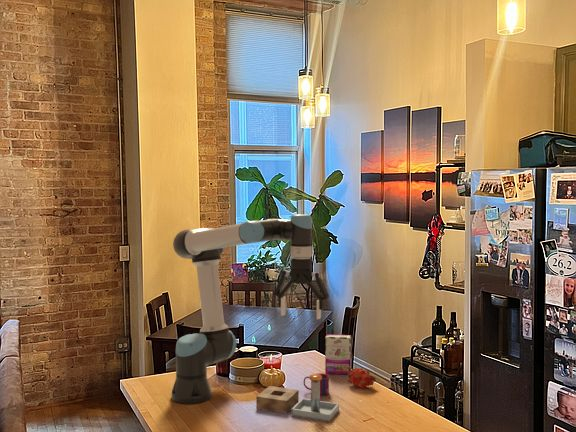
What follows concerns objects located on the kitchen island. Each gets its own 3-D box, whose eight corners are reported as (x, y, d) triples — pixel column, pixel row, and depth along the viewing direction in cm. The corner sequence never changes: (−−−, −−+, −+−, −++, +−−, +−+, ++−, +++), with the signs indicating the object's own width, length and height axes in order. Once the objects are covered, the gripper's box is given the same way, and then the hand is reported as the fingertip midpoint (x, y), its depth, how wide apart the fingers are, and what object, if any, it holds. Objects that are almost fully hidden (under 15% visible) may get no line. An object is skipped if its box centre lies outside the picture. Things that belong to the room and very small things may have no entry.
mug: (327, 396, 224) (327, 379, 223) (302, 394, 226) (302, 377, 226) (330, 390, 230) (330, 374, 230) (305, 388, 232) (305, 372, 232)
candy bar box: (351, 371, 254) (351, 335, 254) (350, 375, 249) (351, 337, 249) (326, 370, 256) (326, 333, 255) (324, 373, 251) (325, 336, 250)
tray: (291, 415, 204) (291, 409, 204) (302, 404, 215) (302, 398, 215) (329, 422, 199) (329, 414, 199) (338, 410, 210) (338, 403, 210)
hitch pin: (307, 412, 206) (307, 377, 205) (311, 408, 210) (311, 373, 209) (319, 414, 204) (319, 378, 204) (323, 410, 208) (323, 374, 208)
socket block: (256, 408, 211) (256, 396, 211) (269, 397, 222) (269, 385, 222) (286, 413, 207) (286, 400, 207) (298, 401, 218) (298, 390, 218)
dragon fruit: (345, 388, 238) (373, 396, 234) (342, 381, 231) (371, 390, 227) (351, 368, 242) (379, 376, 238) (348, 361, 235) (377, 369, 231)
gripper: (264, 257, 207) (264, 315, 208) (331, 260, 197) (331, 322, 198) (273, 255, 214) (272, 311, 215) (337, 258, 204) (337, 317, 205)
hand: (300, 316), depth 207 cm, fingers open, 13 cm apart
